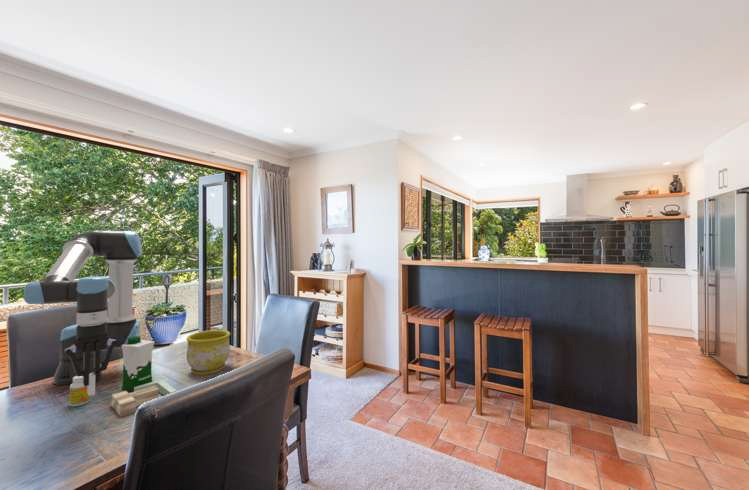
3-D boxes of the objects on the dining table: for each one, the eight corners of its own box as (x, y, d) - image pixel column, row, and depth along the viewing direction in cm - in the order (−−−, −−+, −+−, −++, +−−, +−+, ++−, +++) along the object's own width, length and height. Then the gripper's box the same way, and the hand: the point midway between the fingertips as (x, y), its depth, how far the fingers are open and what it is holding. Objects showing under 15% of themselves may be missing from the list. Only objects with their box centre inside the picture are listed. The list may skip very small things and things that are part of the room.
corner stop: (133, 395, 117) (134, 387, 117) (161, 386, 124) (161, 379, 124) (147, 408, 107) (148, 399, 107) (176, 398, 114) (176, 390, 114)
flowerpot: (237, 364, 149) (238, 330, 149) (212, 379, 131) (212, 341, 132) (205, 361, 152) (206, 328, 152) (176, 376, 134) (176, 339, 135)
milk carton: (138, 381, 129) (139, 334, 129) (156, 383, 127) (157, 335, 127) (117, 390, 120) (118, 340, 120) (136, 393, 118) (137, 342, 119)
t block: (111, 405, 109) (111, 394, 109) (151, 393, 119) (151, 382, 119) (120, 416, 102) (121, 404, 102) (162, 402, 111) (162, 391, 111)
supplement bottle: (66, 408, 107) (67, 380, 107) (72, 401, 112) (73, 374, 112) (86, 404, 109) (87, 377, 110) (92, 398, 114) (92, 372, 114)
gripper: (66, 329, 93) (65, 405, 93) (120, 321, 104) (119, 389, 104) (62, 325, 98) (61, 397, 98) (114, 317, 108) (113, 383, 108)
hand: (91, 393), depth 101 cm, fingers closed
